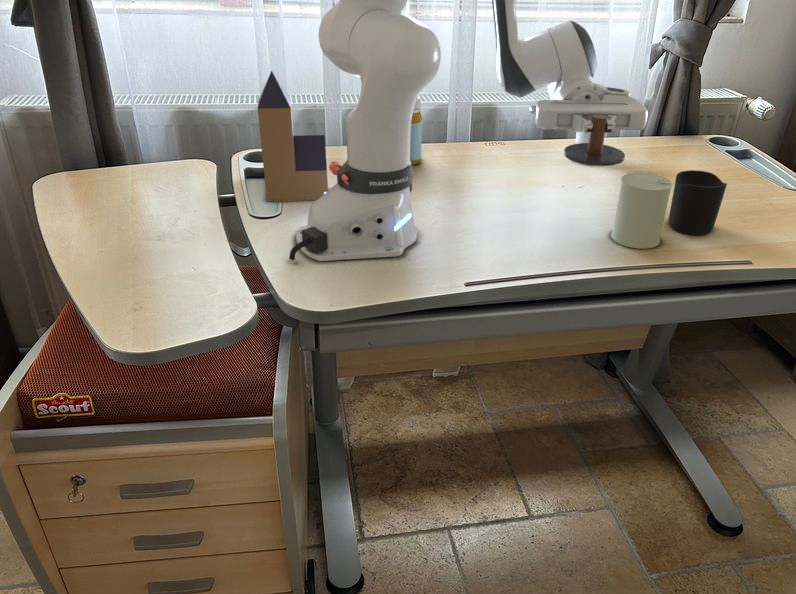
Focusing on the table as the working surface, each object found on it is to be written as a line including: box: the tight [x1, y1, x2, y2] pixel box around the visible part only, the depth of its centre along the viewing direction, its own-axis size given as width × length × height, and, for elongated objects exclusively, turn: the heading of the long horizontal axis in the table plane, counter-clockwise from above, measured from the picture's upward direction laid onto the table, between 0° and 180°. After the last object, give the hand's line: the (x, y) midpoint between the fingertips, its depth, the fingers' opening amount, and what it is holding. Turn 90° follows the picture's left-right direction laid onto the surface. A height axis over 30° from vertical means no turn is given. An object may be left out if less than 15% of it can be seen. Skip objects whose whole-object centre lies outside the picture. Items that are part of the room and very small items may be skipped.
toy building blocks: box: [257, 70, 329, 203], centre depth 149 cm, size 12×19×25 cm, turn 10°
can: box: [610, 171, 673, 250], centre depth 135 cm, size 9×9×12 cm
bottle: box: [410, 95, 423, 166], centre depth 167 cm, size 7×7×15 cm
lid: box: [563, 114, 626, 167], centre depth 127 cm, size 11×11×7 cm
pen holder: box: [667, 169, 728, 236], centre depth 141 cm, size 9×9×10 cm
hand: (600, 128), depth 125 cm, fingers closed on lid, 2 cm apart
